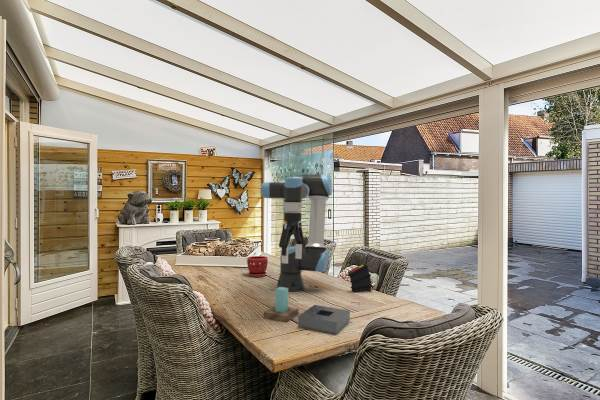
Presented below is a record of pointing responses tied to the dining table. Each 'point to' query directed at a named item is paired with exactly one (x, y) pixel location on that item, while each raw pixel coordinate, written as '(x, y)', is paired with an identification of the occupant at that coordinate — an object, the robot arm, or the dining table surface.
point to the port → (324, 319)
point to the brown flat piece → (281, 314)
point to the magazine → (360, 278)
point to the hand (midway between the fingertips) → (291, 260)
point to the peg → (281, 300)
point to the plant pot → (257, 266)
